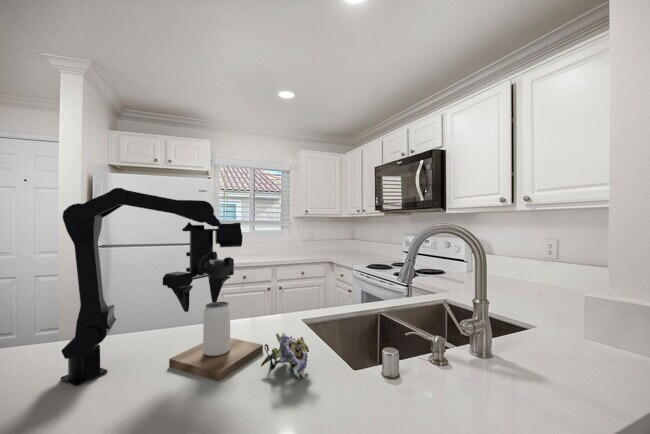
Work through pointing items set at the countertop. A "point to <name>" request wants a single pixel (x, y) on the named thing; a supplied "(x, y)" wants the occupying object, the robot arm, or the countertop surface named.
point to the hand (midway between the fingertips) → (201, 306)
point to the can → (216, 329)
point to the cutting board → (216, 360)
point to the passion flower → (289, 355)
